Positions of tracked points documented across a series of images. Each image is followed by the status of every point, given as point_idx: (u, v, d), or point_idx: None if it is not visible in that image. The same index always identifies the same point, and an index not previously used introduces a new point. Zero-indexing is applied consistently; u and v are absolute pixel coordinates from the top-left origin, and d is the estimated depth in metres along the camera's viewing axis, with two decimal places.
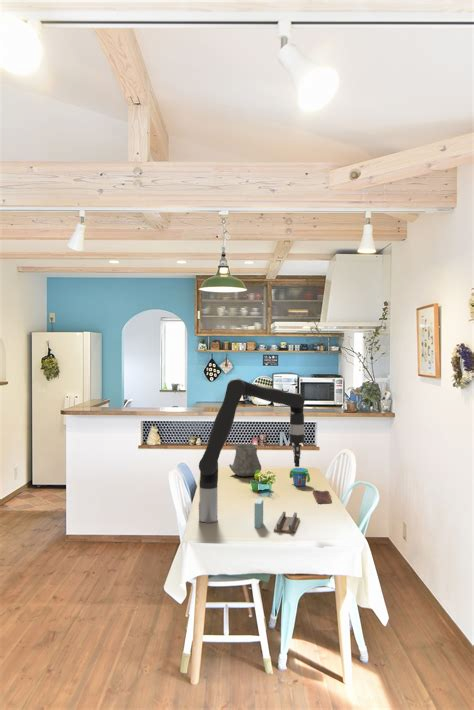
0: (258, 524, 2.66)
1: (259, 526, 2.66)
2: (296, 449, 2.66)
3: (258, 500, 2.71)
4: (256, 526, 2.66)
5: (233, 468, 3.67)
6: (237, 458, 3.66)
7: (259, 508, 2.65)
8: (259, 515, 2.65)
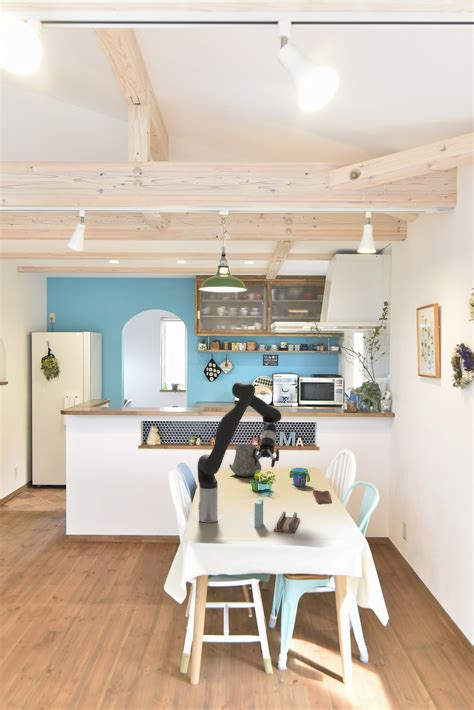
0: (258, 524, 2.66)
1: (259, 526, 2.66)
2: (278, 451, 2.89)
3: (258, 500, 2.71)
4: (256, 526, 2.66)
5: (233, 468, 3.67)
6: (237, 458, 3.66)
7: (259, 508, 2.65)
8: (259, 515, 2.65)
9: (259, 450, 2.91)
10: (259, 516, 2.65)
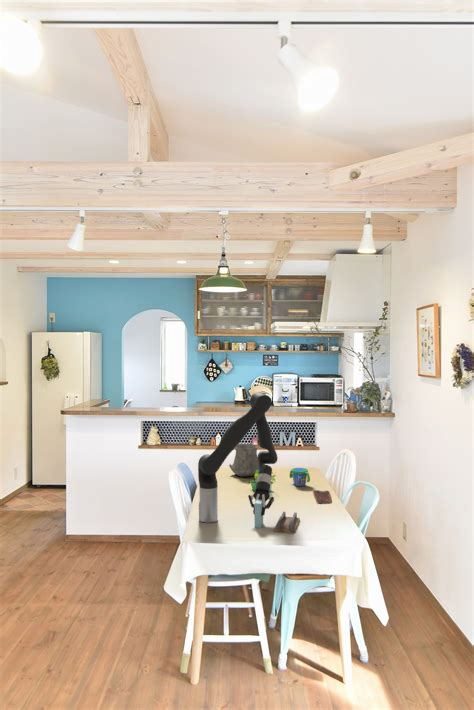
0: (258, 524, 2.66)
1: (259, 526, 2.66)
2: (272, 500, 2.72)
3: (258, 500, 2.71)
4: (256, 526, 2.66)
5: (233, 468, 3.67)
6: (237, 458, 3.66)
7: (259, 508, 2.65)
8: (259, 515, 2.65)
9: (254, 495, 2.75)
10: (259, 516, 2.65)
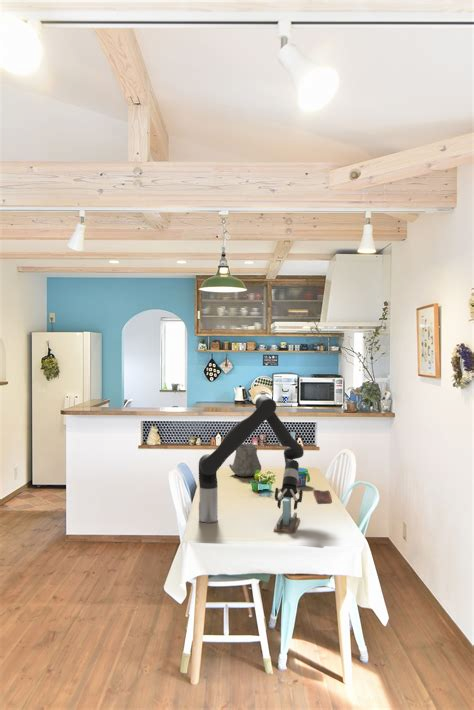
0: (286, 522, 2.65)
1: (287, 524, 2.65)
2: (302, 492, 2.72)
3: (286, 498, 2.70)
4: (284, 524, 2.66)
5: (233, 468, 3.67)
6: (237, 458, 3.66)
7: (287, 505, 2.65)
8: (287, 513, 2.65)
9: (281, 490, 2.74)
10: (287, 514, 2.65)
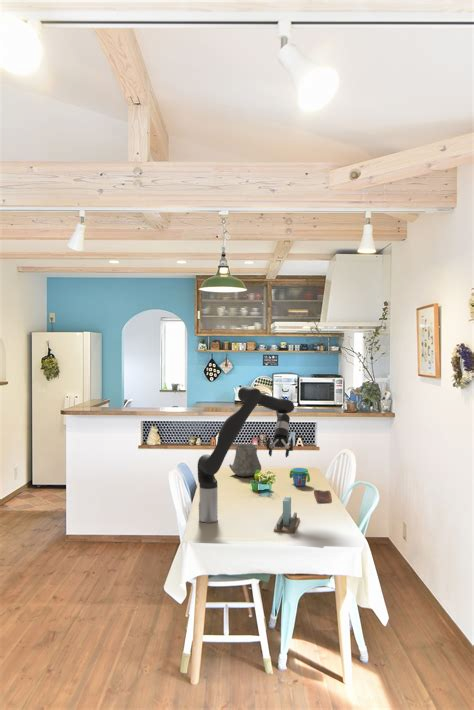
0: (286, 522, 2.65)
1: (287, 524, 2.65)
2: (292, 441, 2.92)
3: (286, 498, 2.70)
4: (284, 524, 2.66)
5: (233, 468, 3.67)
6: (237, 458, 3.66)
7: (287, 506, 2.65)
8: (287, 513, 2.65)
9: (273, 440, 2.94)
10: (287, 514, 2.65)
